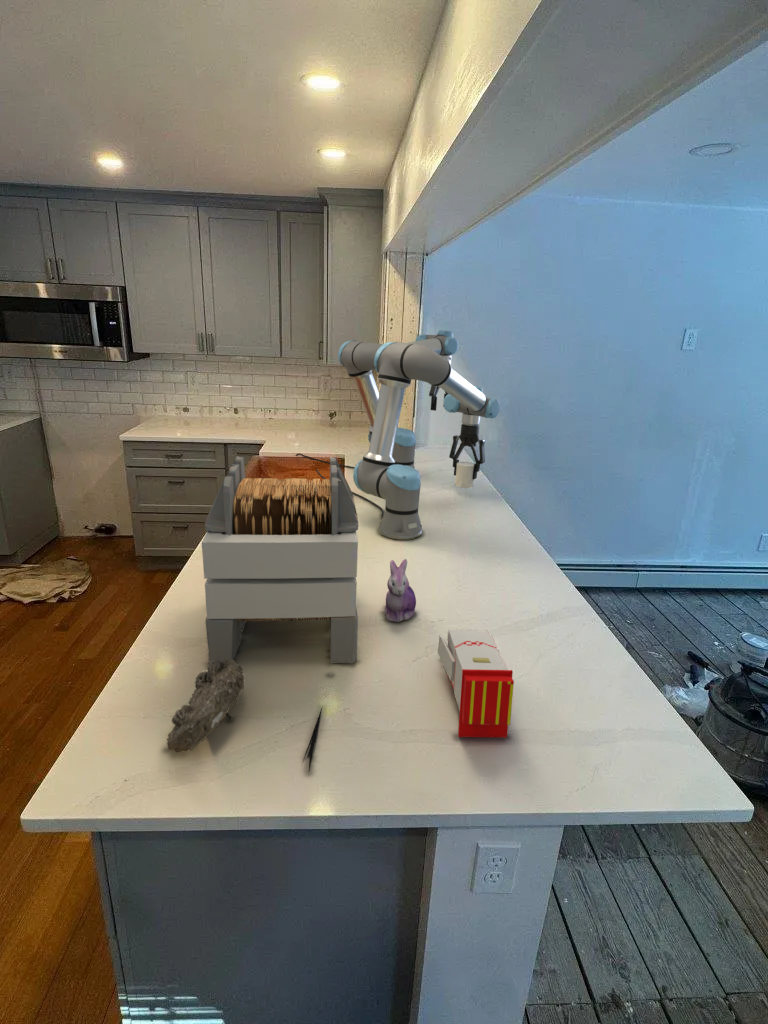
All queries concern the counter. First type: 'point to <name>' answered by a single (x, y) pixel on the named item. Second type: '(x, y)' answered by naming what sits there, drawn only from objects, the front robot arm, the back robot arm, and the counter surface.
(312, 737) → the feather
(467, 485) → the cylinder
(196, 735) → the fossil
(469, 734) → the toy
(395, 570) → the figurine
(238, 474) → the record crate stand
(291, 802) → the counter surface
